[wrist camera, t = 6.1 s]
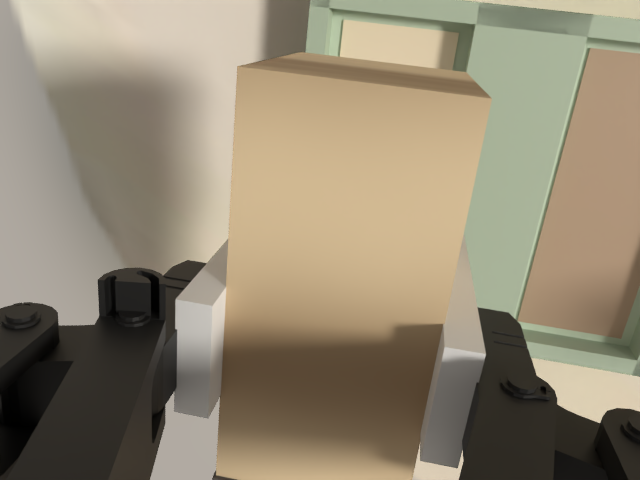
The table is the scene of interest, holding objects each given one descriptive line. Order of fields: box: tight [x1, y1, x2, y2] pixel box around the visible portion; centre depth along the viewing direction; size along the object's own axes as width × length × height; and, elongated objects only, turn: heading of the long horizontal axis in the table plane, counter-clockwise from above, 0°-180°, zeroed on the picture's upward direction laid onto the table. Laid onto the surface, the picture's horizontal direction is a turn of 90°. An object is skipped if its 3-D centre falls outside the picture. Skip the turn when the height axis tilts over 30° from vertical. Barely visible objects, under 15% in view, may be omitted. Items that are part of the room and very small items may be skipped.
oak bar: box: [212, 52, 492, 480], centre depth 15 cm, size 12×5×6 cm, turn 174°
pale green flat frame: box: [305, 0, 640, 377], centre depth 26 cm, size 15×17×2 cm
